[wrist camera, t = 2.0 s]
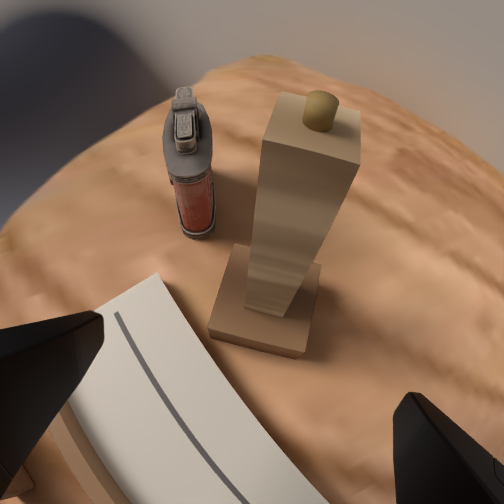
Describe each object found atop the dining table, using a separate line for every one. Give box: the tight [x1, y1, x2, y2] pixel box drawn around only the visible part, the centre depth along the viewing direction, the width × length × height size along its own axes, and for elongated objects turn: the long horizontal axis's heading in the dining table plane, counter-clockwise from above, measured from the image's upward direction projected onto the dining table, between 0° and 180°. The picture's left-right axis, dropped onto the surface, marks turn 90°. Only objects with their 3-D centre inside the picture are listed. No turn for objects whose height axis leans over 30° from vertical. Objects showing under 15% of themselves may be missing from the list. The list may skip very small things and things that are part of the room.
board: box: [48, 273, 329, 504], centre depth 14 cm, size 24×12×4 cm, turn 36°
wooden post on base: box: [207, 90, 361, 359], centre depth 14 cm, size 6×6×17 cm
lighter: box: [162, 87, 216, 240], centre depth 21 cm, size 8×3×10 cm, turn 9°
